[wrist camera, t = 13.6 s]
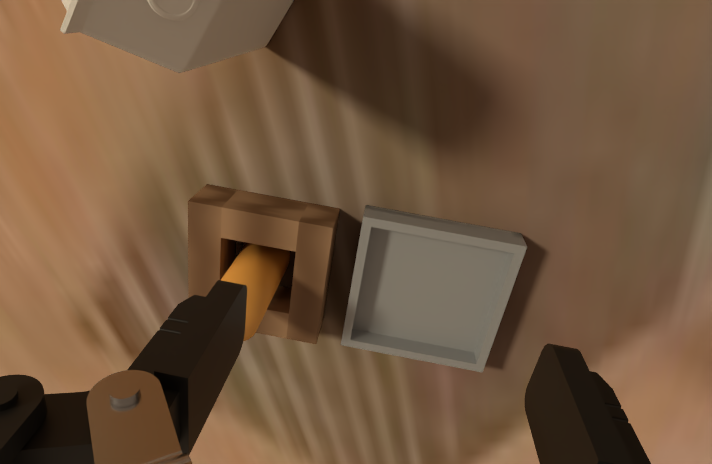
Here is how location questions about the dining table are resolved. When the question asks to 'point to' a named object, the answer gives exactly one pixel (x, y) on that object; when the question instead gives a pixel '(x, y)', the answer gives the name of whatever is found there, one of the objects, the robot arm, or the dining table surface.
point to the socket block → (273, 229)
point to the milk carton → (178, 27)
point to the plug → (258, 279)
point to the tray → (430, 287)
